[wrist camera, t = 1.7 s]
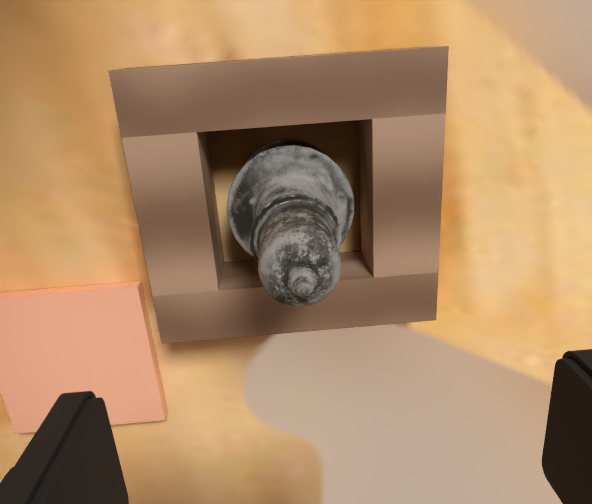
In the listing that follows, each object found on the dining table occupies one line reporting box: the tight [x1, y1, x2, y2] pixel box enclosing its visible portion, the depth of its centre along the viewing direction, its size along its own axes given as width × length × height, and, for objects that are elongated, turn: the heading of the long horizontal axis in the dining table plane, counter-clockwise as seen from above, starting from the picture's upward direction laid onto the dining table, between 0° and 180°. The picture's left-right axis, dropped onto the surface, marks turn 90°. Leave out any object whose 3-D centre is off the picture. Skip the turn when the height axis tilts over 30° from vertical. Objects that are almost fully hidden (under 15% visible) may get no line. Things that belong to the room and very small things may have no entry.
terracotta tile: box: [0, 281, 167, 434], centre depth 29 cm, size 9×9×1 cm
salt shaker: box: [227, 139, 354, 307], centre depth 21 cm, size 6×6×12 cm
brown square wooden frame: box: [109, 46, 449, 344], centre depth 25 cm, size 13×14×4 cm
